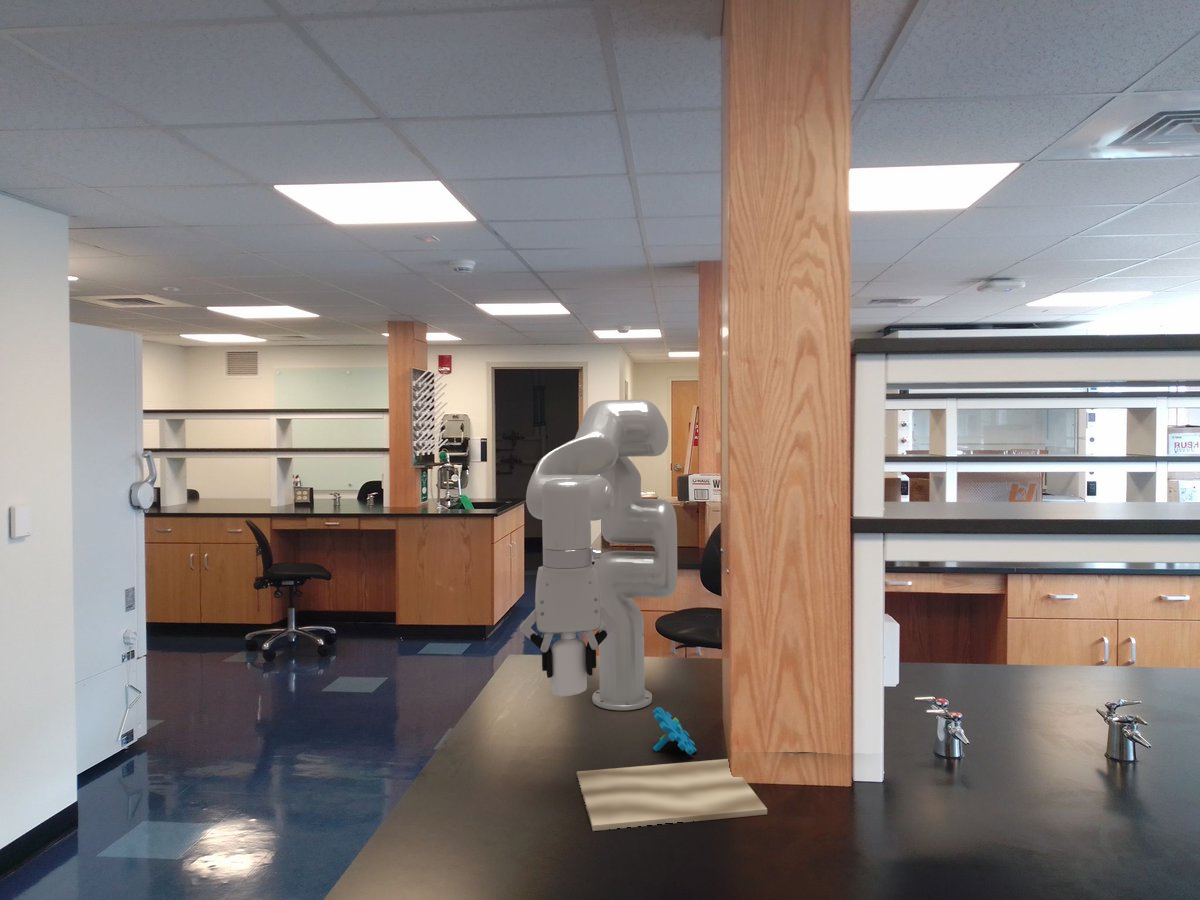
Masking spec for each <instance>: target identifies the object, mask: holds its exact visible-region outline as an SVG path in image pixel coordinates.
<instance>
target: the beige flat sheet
mask: <svg viewBox="0 0 1200 900" xmlns="http://www.w3.org/2000/svg"><path fill="white" fill-rule="evenodd" d="M728 759H729V758H723V759H712V760H700V761H688V762H676V763H662V764H654V765H653V764H652V765H640V766H638V765H637V766H629V767H627V766H626V767H617V768H615V767H614V768H604V769H593V770H579V771H576V778H578V779H577V782H578V781H579V782H578V786H579V785H580V786H579V788H581V789H580V792H581V795H583V796H582V799H583V802H585V803H584V806H585V805H586V806H585V809H586V813H587V812H588V813H587V816H588V820H589V823H590V826H591V829H592V832H595V831H607V830H609V829H610V830H618V829H617V828H620V829H628V828H627V827H631V828H639V827H638V826H641V827H648V826H647V825H652V826H658V825H657V824H662V825H666V824H665V823H673V824H678V823H677V822H683V823H692V822H693V821H694V822H701V821H711V820H722V819H732V818H734V819H735V818H744V817H754V816H764V815H768V808H767V807H766V805H765V804H764V803H763V802H762V801H761V799H760V798H759V796H758V795H757V793H755V791H754V790H753V789H752V787H751V786H750V785H749V783H748V782H747V781H746V779H745V778H744V777H743V776H742V777H733V776H732V775H731V772H730V768H729V762H728ZM610 830H609V831H610Z"/></svg>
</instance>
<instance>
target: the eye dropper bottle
mask: <svg viewBox="0 0 1200 900" xmlns="http://www.w3.org/2000/svg"><path fill="white" fill-rule="evenodd" d="M586 646H587V643H585V641H584V640H582V639H580V638H577V633H560V639H558V640H556V641H555V642H554V643H553V644H552V645H551V646H550V648H551V652H552V677H551V678H550V683H551V684H550V687H551V690H550V691H551V693H552V694H553V695H554V696H556V697H559V698H560V697H561V698H563V697H570V696H575V695H578V694H582V693H584V692H585V691H586V690H587V688H588V683H587V682H588V680H587V679H588V674H587V663H586Z"/></svg>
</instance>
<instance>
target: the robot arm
mask: <svg viewBox="0 0 1200 900" xmlns="http://www.w3.org/2000/svg"><path fill="white" fill-rule="evenodd" d="M668 444H669V428H668V425H667V422H666V419H665V417H664V416H663V415H662V413H661V411H660V409H659V408H658V407H657V406H656V404H654V403H653V402H651V401H649V400H647V399H606V400H599V401H596V402H594V403H592V404H591V405H590V406H589V407H588V408H587V410H586V411H585V413H584V416H583V418H582V421H581V423H580V424H579V427H578V430H577V432H576V434H575V438H574V439H572V440H569V441H568V442H565V443H564V444H561V445H560V446H558V447H556V448H554V449H553V450H552V451H549V452H548V453H547V454H544V456H543V457H541V458H540V460H539V461H538V463H537V464H536V466H535V468H534V470H533V472H532V474H531V476H530V479H529V481H528V484H527V489H526V494H525V498H526V499H525V502H526V506H527V507H526V508H527V510H528V512H529V513H530V515H531V516H532V517H533V518H535V519H538V520H542V522H541V523H542V524H541V525H542V526H541V527H542V565H541V566H538V569H537V574H536V579H535V596H534V609H533V610H532V611H531V612H530V614H528V616H527V617H526V618H525V619H524V621H523V622H522V623H520V626H519V631H520V633H522V634H523V635H524V637H526V638H527V639H529V640H530V641H531V642H532V643H533V644H534V645H535V646H536V647H537V648H538V649H540V651H541V671H542V672H546V677H547V679H551V677H552V652H551V646H550V645H551V642H552V639H553V636H554V634H561V633H576V634H577V633H584V634H585V636H586V639H587V643H586V663H587V676H589V677H591V676H593V672H594V671H593V669H596V668H597V650H598V663H599V664H598V666H599V667H598V668H599V670H598V671H599V674H598V675H599V689H598V690H596V691H594V692H593V694H592V698H591V699H592V703H593V704H594V705H595V706H597V707H599V708H601V709H605V710H610V711H611V710H612V711H633V710H634V711H635V710H639V709H644V708H645V707H647V706H649V705H651V703H652V701H653V694H652V692H651V691H649V690H647V689H646V687H645V686H646V685H645V684H646V683H645V681H646V680H645V679H646V678H645V676H646V675H645V621H644V620H645V619H644V616H643V615H644V614H643V612H642V611H641V608H640V607H639V606H638V605H637V603H636V602H635V601H634V599H633V598H647V599H648V598H651V599H652V598H653V599H663V598H664V599H665V598H669V597H671V596H673V595H674V593H675V592H676V589H677V585H678V524H677V522H678V521H677V513H676V510H675V507H674V506H673V504H672V503H671V502H669V500H666V499H657V498H656V499H655V498H649V499H648V498H642V477H641V473H640V472H639V470H638V468H637V466H636V465H635V463H634V462H633V461H632V460H631V459H630V458H631V457H635V458H636V457H659V456H661V455H662V454H664V453H665V451H666V450H667V447H668ZM599 520H600V528H601V535H602V537H603V540H605V541H606V542H608V543H611V544H616V545H639V546H642V545H644V546H645V545H647V546H651V547H653V548H654V550H655V551H650V550H649V551H646V550H645V551H641V550H610V551H606V552H603V553H602V554H601V550H600V549H596V548H593V547H592V532H591V531H592V529H591V528H592V524H591V522H592V521H593V522H595V521H599ZM593 562H594V563H593ZM534 624H535V625H536V629H537V631H538V632H540V633H542V635H541V636H540V635H539V633H537V631H534V630H533V629H532V627H533V625H534ZM594 631H596V633H595V632H594Z"/></svg>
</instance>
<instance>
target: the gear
mask: <svg viewBox="0 0 1200 900" xmlns="http://www.w3.org/2000/svg"><path fill="white" fill-rule="evenodd" d="M652 712H653V713H654V714H655V715H654V719H655V720H656V721H658V723H659V727H660V729H661V730H662V731H664V734H663V735H662V736H661V737H660V738H659V740H658V742H657V743H656V744H655V745H654V746H653V747H652V748H653V750H654V751H655V752H656V753H657V751H658V752H659V751H660V750H661V749H662V748H663V747H664V746H665V745H666V744H667V743H668V742H674V741H676V742H678V744H677V747H678V748H679V749H680V750H681V751H685V752H686V754H687V755H690V756H691V755H693V754H694V753H695V752H697V748H696V747H695V746H696V744H695V742H694V741H693V740H692V739H691V738H690V735H689V733H688V732H687V730H684V729H683V727H682V725H681V723H680V720H679V719H678V718H677V717H674V718H673V717H672V715H671V713H670V712H668V711H665V710H664V709H663V708H662V707H660V706H659V707H655V709H653V710H652ZM672 718H673V719H672Z"/></svg>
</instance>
